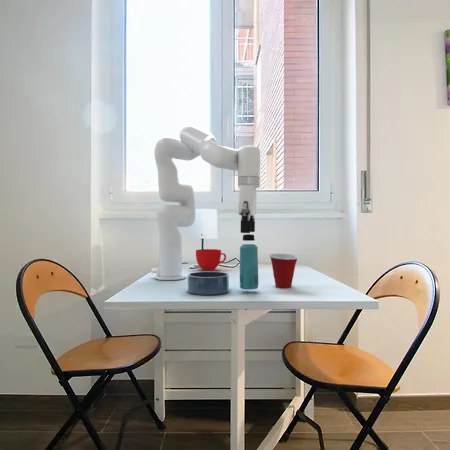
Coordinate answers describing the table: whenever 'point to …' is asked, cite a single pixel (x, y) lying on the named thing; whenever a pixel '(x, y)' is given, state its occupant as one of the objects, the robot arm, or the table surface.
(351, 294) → the table surface
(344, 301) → the table surface
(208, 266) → the ceramic cup
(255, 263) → the beverage bottle
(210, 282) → the blue-grey round bowl
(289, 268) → the plastic cup
